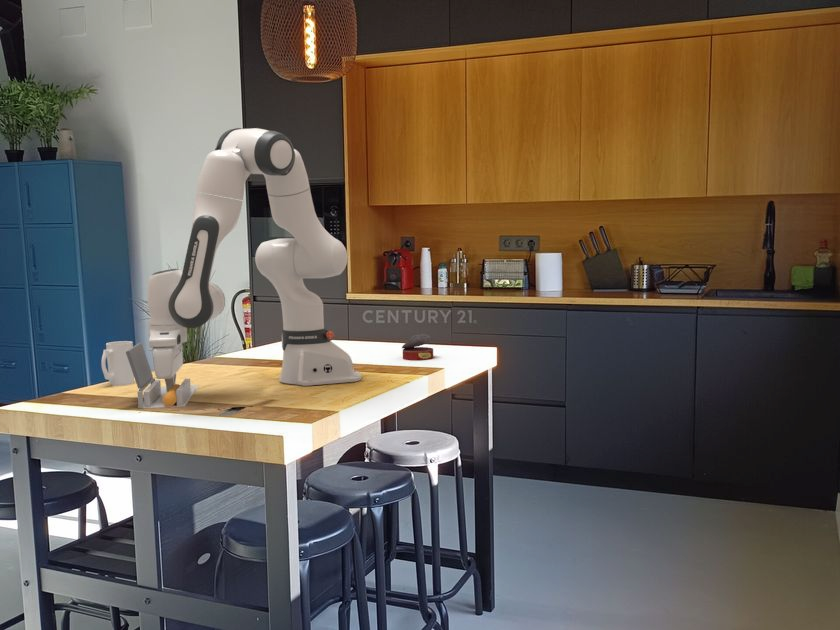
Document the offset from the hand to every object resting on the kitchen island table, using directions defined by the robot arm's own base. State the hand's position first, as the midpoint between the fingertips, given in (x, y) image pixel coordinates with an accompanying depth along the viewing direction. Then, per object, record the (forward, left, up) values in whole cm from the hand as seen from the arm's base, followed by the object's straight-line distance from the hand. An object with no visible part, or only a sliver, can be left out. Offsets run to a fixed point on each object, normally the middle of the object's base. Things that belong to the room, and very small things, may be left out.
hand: (171, 390), depth 197 cm
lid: (+6, +5, +7) cm, 10 cm away
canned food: (-69, -48, -2) cm, 84 cm away
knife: (-17, +15, -3) cm, 23 cm away
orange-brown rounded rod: (-1, +7, -1) cm, 7 cm away
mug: (+17, -20, -2) cm, 26 cm away
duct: (0, 0, -2) cm, 2 cm away
